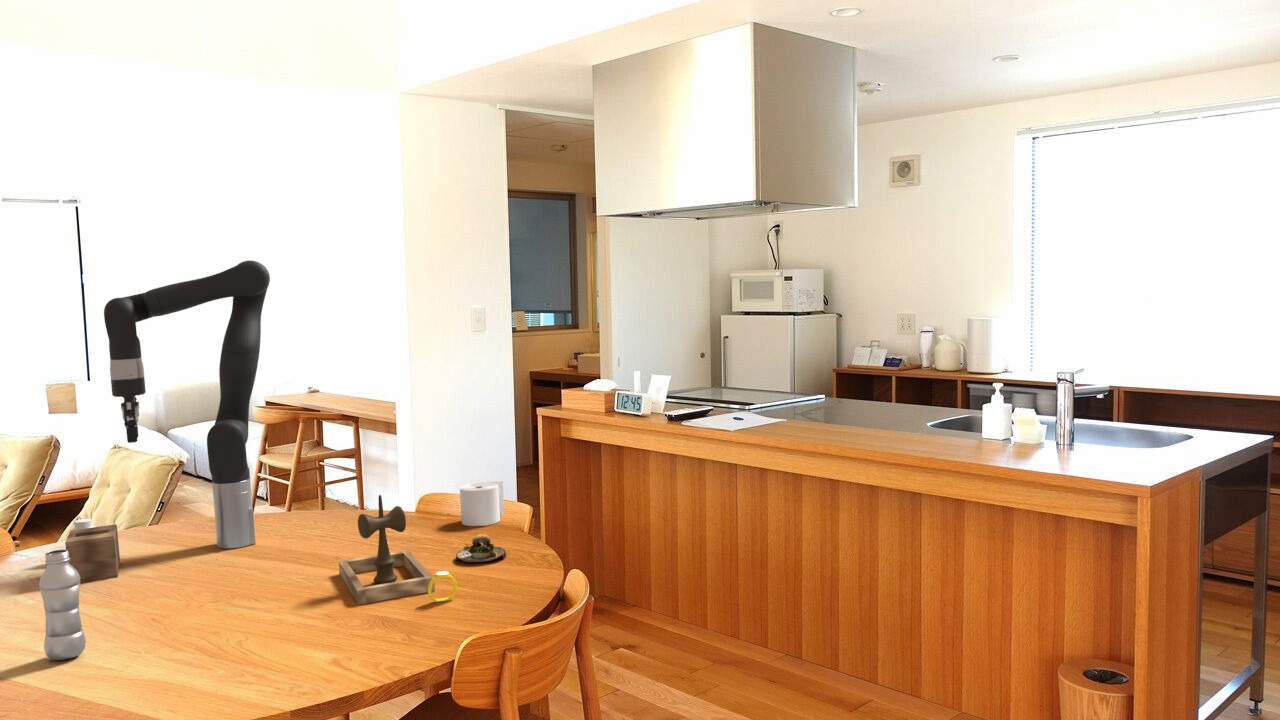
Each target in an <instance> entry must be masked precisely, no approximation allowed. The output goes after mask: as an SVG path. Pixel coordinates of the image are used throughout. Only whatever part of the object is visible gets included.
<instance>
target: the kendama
mask: <svg viewBox="0 0 1280 720" xmlns="http://www.w3.org/2000/svg"><path fill="white" fill-rule="evenodd" d="M382 498H383V497H382V495H381V494H378V516H371V515H368V514H365V513H361V514H359V515H358V519H357V530H358V532H359V536H361V538H363V539H366V540H367V539H369V538H370V537H371V536H372V535H374V534H375V533H376V532H378V545H377V546H378V547H377V548H378V549H377V554H376V555H377V559H376V560H375V561H374V565H375V566H376V568H377V570H376V575H375V576H374V578H373V582H374V583H375V584H376V585H380V584H386V583H391V582H397V580H398V576H397V574H395V571H394V567H393V563H394V561H395V560H394V559H393V558H392V557H391V555H390V553H391V552H390V547H389V544H388V539H387V532H386V529H391V530H394V531H396V532H398V533H403V532H404V531H405V530H406V526H407V518H406V513H405V511H404V510H403V508H402V507H401V506H400V505H397V506H396V505H395V506H394V507H393V508H392V509H391V510H390V511H389V512H388V513H387V514H385V515H384V506H383V499H382Z"/></svg>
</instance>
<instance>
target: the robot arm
mask: <svg viewBox="0 0 1280 720" xmlns="http://www.w3.org/2000/svg"><path fill="white" fill-rule="evenodd" d="M270 276H271V275H270V272H269V271H268V269H267V267H266V266H265V265H263V263H261V262H259V261H255V260H243V261H241V262H240V263H238V264H237V265H234V266H232V267H229V268H228V269H226V270H223V271H220V272H218V273H215V274H211V275H208V276H204V277H200V278H196V279H191V280H186V281H180V282H176V283H172V284H168V285H163V286H160V287H155V288H152V289H149V290H147V291H146V292H141V293H136V294H132V295H128V296H123V297H115V298H112V299H110V300H108V302H107V303H106V304H105V306H104V309H103V319H104V325H105V328H106V334H107V337H108V345H109V346H108V348H109V349H108V351H109V361H110V362H109V372H110V383H111V387H110V388H111V394H112V397H115V398H123V402H121V403H120V410H121V412H122V420H123V425H124V427H125V429H126V441H127V443H129V444H131V443H137V442H138V438H139V427H138V425H139V424H138V423H139V416H140V411H139V410H140V402H139V401H137V399H138V398H137V397H136V396H142V395H145V394H146V379H145V370H144V363H143V358H142V349H141V340H140V338H139V336H138V333H137V332H138V331H137V323H139V322H142V321H145V320H148V319H151V318H154V317H161V316H165V315H170V314H173V313H177V312H178V313H179V312H181V311H185V310H187V309H191V308H194V307H197V306H200V305H203V304H206V303H209V302H212V301H217V300H220V299H226V298H232V307H231V313H230V317H229V320H228V322H227V326H226V329H225V333H224V336H223V341H222V344H221V345H222V346H221V352H220V360H219V369H218V371H219V377H218V378H219V393H220V394H219V395H220V397H219V398H220V399H219V406H218V410H217V414H216V418H215V422H214V425H212V426H211V428H210V429H209V431H208V432H207V436H206V448H207V457H208V458H207V459H208V468H209V473H210V475H211V476H210V477H211V485H212V496H213V510H214V521H215V522H214V524H215V535H216V546H217V548H219V549H227V550H229V549H238V548H242V547H247V546H251V545H255V544H256V543H257V542H256V529H255V518H254V508H253V501H252V500H253V499H252V487H251V475H250V473H251V471H250V468H249V465H248V459H247V456H248V455H247V445H246V444H247V442H248V439H249V416H250V415H249V413H250V401H251V397H252V393H253V389H254V387H255V386H254V385H255V381H256V377H257V370H258V365H259V359H260V358H259V357H260V350H261V349H260V348H261V336H262V335H261V334H262V333H261V331H262V330H261V329H262V328H261V327H262V312H263V308H264V302H265V298H266V294H267V291H268V288H269V285H270V281H271V277H270Z"/></svg>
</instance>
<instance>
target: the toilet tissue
mask: <svg viewBox="0 0 1280 720" xmlns="http://www.w3.org/2000/svg"><path fill="white" fill-rule="evenodd" d="M503 484H504V482H503V481H484V482H475V483H467V484H464V485H462V486H460V487H459V495H460V496H459V498H460V515H461V516H460V517H461V524H462V525H463V526H467V527H484V526H488V525H489V526H491V525H494V524H497V523H499V522H500V521H501V515H505V504H504V503H505V502H504V501H502V500H504V488H503V487H504V486H503Z"/></svg>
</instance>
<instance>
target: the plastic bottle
mask: <svg viewBox="0 0 1280 720" xmlns="http://www.w3.org/2000/svg"><path fill="white" fill-rule="evenodd" d="M44 557H45V565H46V566H47V567H46V568H45V569H44V571H43V573H42V574H41V576H40V579H39V582H38V584H39V585H38V586H39V590H40V594H41V597H42V598H41V599H42V601H43V608H44V612H45V613H44V615H45V636H44V641H43V642H44V643H43V644H44V645H43V650H44V653H45V656H46V657H47V658H48V659H49V660H51V661H63V660H67V659H68V660H69V659H72V658H76V657H78V656H79V655H81V654H83V651H84V650H85V648H86V642H87V641H86V640H87V639H86V636H85V632H84V629H83V626H82V620H81V614H80V606H79V605H80V590H81V589H80V588H81V583H80V575H79V573H78V571H77V570H76V569H75V568H74V567H73V566H71V565H70V564H69V562H68V561H69V560H70V557H69V552H68V550H66V548H65V549H55V550H51V551H47V552H45V555H44Z"/></svg>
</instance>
